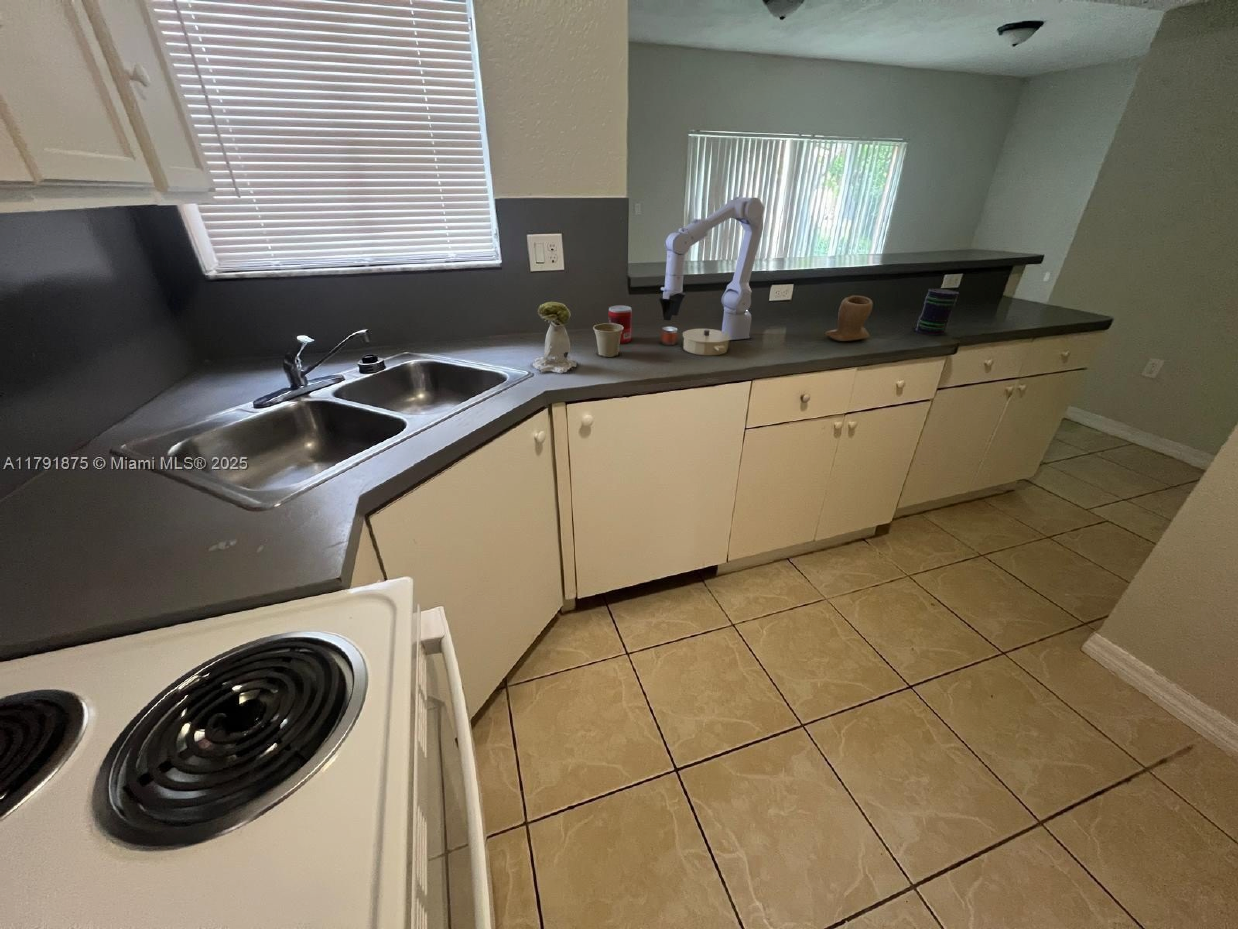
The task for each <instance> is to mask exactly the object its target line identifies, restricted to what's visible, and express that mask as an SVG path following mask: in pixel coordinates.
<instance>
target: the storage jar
mask: <svg viewBox="0 0 1238 929" xmlns="http://www.w3.org/2000/svg"><path fill="white" fill-rule="evenodd" d="M959 294H960V292H959V291H957V290H954V289H948V288H939V287H938V288H935V287H934V288H928V293H927V294H926V296H925V298H924V302H923V309H922V311H921V313H920V315H919V317H918V320H917V324H916V328H915V331H916V332H918V333H920V334H924V335H929V336H943V335H944V334H945V332H946V330H947V327H948V325H949V322H950V316H951V314H952V311H953V309H954V308H955V305H956V304H957V299H958V296H959Z"/></svg>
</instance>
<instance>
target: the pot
mask: <svg viewBox="0 0 1238 929" xmlns="http://www.w3.org/2000/svg"><path fill="white" fill-rule="evenodd" d="M682 338H683V339H682V348H683V351H685V352H687V353H691V354H693V355H698V356H699V355H701V356H719V355H723V354H726V353H727V352H728V348H729V343H730V340H729V341H727V342H723V343H714V344H709V343H699V342H693V341H690V340H687V339H685V338H684V337H683V336H682Z"/></svg>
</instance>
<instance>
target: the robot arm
mask: <svg viewBox="0 0 1238 929" xmlns="http://www.w3.org/2000/svg"><path fill="white" fill-rule="evenodd" d="M765 209H766V208H765V205H764V204H763V202H762V201H761V199H759V198H758V197H746V196H741V195H740V196H739V195H738V196H735V197H734V198H733V199H729V200H728V201H727V203H725V204H724V205H722V206H721V207H720V208H719V209H717V210H716V211H714V212H713V213H711V214H710V215H708V216H707V217H706V218H704V219H701V218H693V219H692V220H691V223H689V224H687V225H685V226H684V227H680V228H679V229H678V231H677V232H671V233H670V234H669V235H668V236H667V238H666V239H665V241H664V248H665V250H666V265H665V279H664V286H661V287H660V291H663V292H662V296H659V298H658V301H659V304H660V306H661V309H662V317H663V320H664V321H671V320H672V316H676V317H677V316H678V315H679V312H680V308H681V305H682V303H683V300H684V298H685V297H686V293H685V292H683V290H684V289H683V286H684V284H683V283H684V273H685V263H686V254H687V253H688V252H689V250H690V248H691V247H692V246H694V245H695V244H697V243H698V242H699V241H702V240H703V239H705V238H706V237H707V236H708V234H709V231H710V230H712V229H713V228H715V227H716V226H718V225H721V224H722V223H725V222H726V221H728V220H729V219H734V220H735V221H737V222H738V223H739V224H740V225H741V227H742V229H743V231H744V234H743V237H742V241H741V244H740V245H741V246H740V249H739V253H738V257H737V261H736V265H735V269H734V273H733V277H732V281H730V283H728V284H727V285H726V289H725V291H724V292H723V294H722V296H721V304H722V306H723V310H724V311H723V318H722V325H721V331H722V332H725V333H727V334H729V335H730V340H729V341H735V340H746V339H747V340H748V339H750V338H751V336H750V332H751V327H752V326H751V325H752V314H751V312H750V311H749V309H750V308H751V305H752V293H753V291H752V289H751V287H750V280H751V277H752V276H751V275H752V273H753V269H754V264H755V262H756V258H757V252H758V249H759V245H760V242H761V238H762V234H763V232H764V231H763V230H764V216H763V215H764V211H765Z"/></svg>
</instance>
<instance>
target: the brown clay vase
mask: <svg viewBox="0 0 1238 929" xmlns="http://www.w3.org/2000/svg"><path fill="white" fill-rule="evenodd" d="M872 310H873V300H872V298H869V297H866V296H863V295H850V296H848V297H844V298H843V300H842V301H841V303H840V306H839V309H838V314H837V320H838V321H837V328H836V329H831V330H827V331H826V332H825V335H826V337H828V338H830V339H831V340H835V341H839V342H850V341H858V340H866V339H870V338H871V337H870V334H869V332H868V330H866V328H865V327H863V326H864V324H865V323H866V322H867V319H868V318H869V316H870V315H871V313H872Z"/></svg>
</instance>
